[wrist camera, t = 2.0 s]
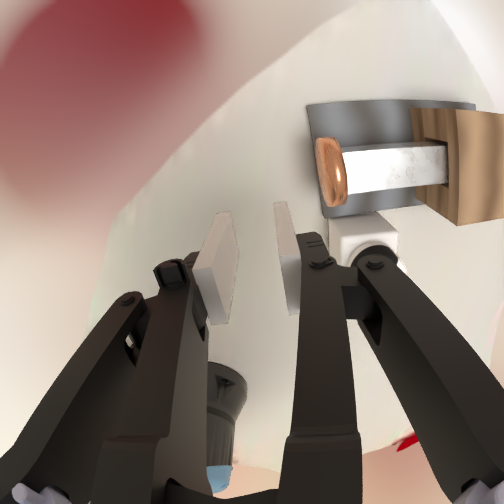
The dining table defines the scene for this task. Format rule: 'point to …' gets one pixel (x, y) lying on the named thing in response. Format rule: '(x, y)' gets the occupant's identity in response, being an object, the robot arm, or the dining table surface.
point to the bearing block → (423, 130)
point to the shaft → (378, 167)
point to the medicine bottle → (362, 239)
